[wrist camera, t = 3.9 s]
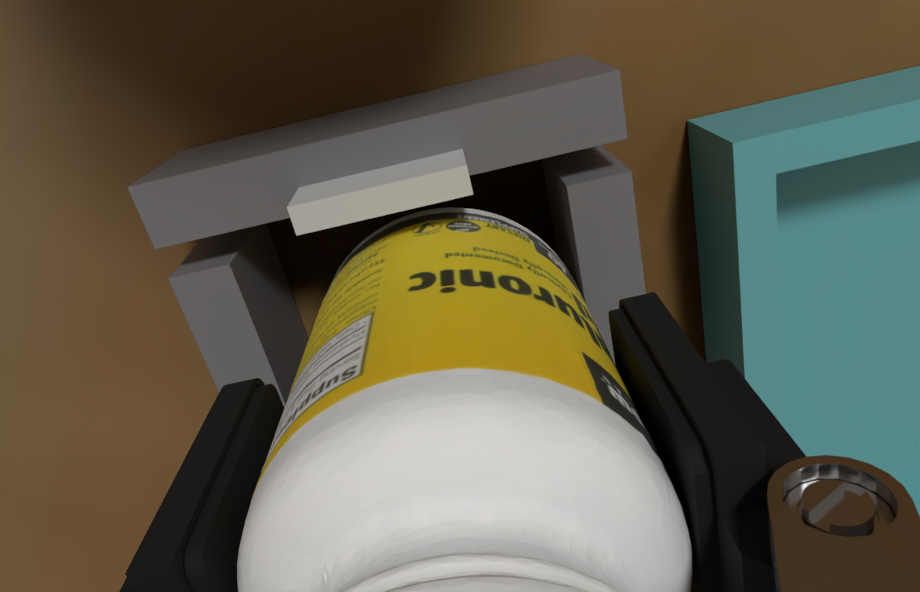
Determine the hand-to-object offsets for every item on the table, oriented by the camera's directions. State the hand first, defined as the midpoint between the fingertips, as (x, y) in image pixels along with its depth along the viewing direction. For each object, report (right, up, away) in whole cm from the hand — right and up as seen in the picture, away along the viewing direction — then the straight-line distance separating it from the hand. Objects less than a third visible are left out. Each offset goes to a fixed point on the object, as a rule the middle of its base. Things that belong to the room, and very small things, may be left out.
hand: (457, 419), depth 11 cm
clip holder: (-1, +2, +5) cm, 6 cm away
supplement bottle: (0, +2, +3) cm, 4 cm away
